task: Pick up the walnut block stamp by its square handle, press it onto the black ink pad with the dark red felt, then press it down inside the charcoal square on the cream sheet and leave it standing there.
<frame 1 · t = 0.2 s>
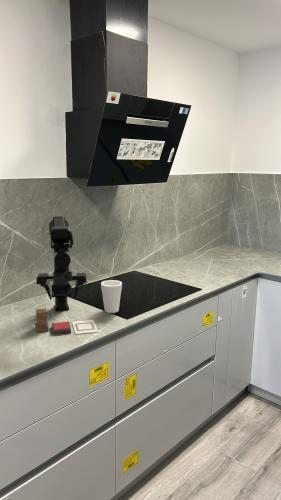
hand: (62, 299, 152), 14 cm above the counter, tool pointing down, fingers open, 9 cm apart
foam cup: (111, 310, 180), on the counter
stamp: (42, 329, 159), on the counter
paper sheet: (84, 327, 161), on the counter
ink pad: (61, 329, 159), on the counter
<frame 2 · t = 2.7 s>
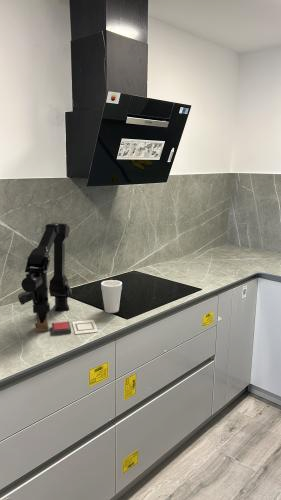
hand: (41, 320, 158), 4 cm above the counter, tool pointing down, fingers closed on stamp, 4 cm apart
stamp: (42, 329, 159), on the counter, touching gripper
everything else where it was.
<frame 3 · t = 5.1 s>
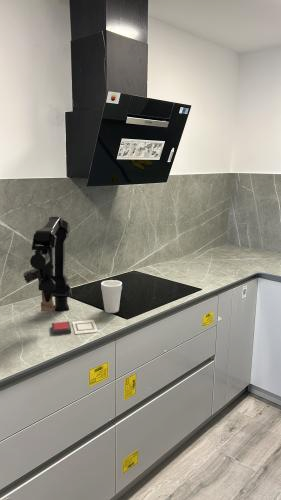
hand: (47, 300, 156), 12 cm above the counter, tool pointing down, fingers closed on stamp, 4 cm apart
stamp: (47, 308, 157), point 9 cm above the counter, touching gripper
everything else where it was.
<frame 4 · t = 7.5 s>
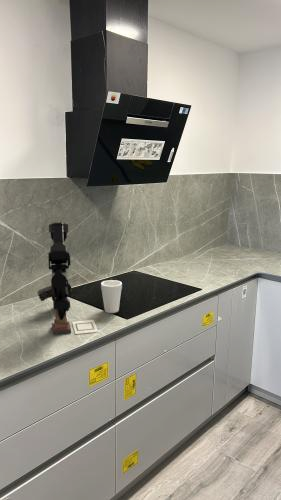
hand: (60, 317, 158), 5 cm above the counter, tool pointing down, fingers closed on stamp, 4 cm apart
stamp: (61, 325, 158), point 2 cm above the counter, touching gripper
everything else where it was.
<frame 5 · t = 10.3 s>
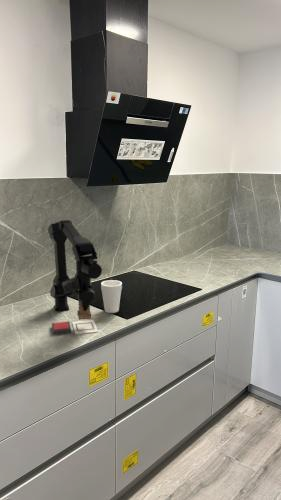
hand: (84, 308, 160), 8 cm above the counter, tool pointing down, fingers closed on stamp, 4 cm apart
stamp: (84, 316, 160), point 5 cm above the counter, touching gripper
everything else where it was.
when the fingers open (4 cm above the counter, at t = 12.4 s): stamp stays where it is, resting on paper sheet.
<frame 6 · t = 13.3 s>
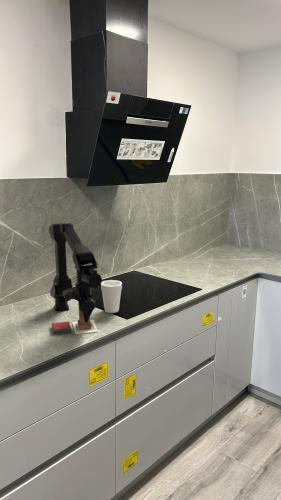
hand: (84, 317, 160), 4 cm above the counter, tool pointing down, fingers open, 9 cm apart
stamp: (84, 326, 161), resting on paper sheet
everything else where it was.
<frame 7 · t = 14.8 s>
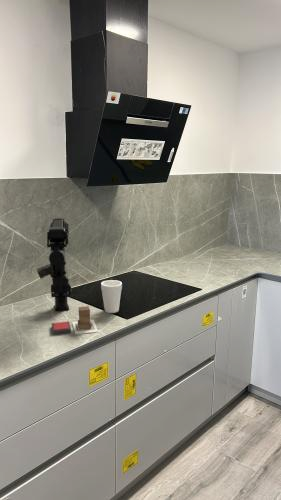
hand: (59, 294, 164), 12 cm above the counter, tool pointing down, fingers open, 9 cm apart
nothing on the counter moved.
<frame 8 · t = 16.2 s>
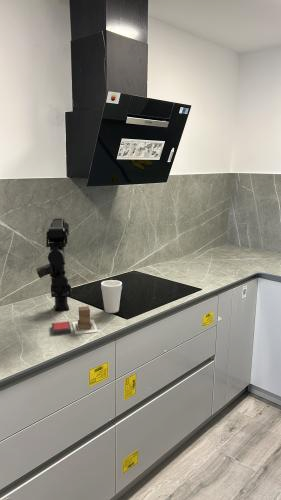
hand: (58, 294, 164), 12 cm above the counter, tool pointing down, fingers open, 9 cm apart
nothing on the counter moved.
at the end: stamp 0.0 cm off-centre on the paper sheet, point 0.3 cm above the paper sheet's base; stamp tilted 0°; the gripper is holding nothing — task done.
